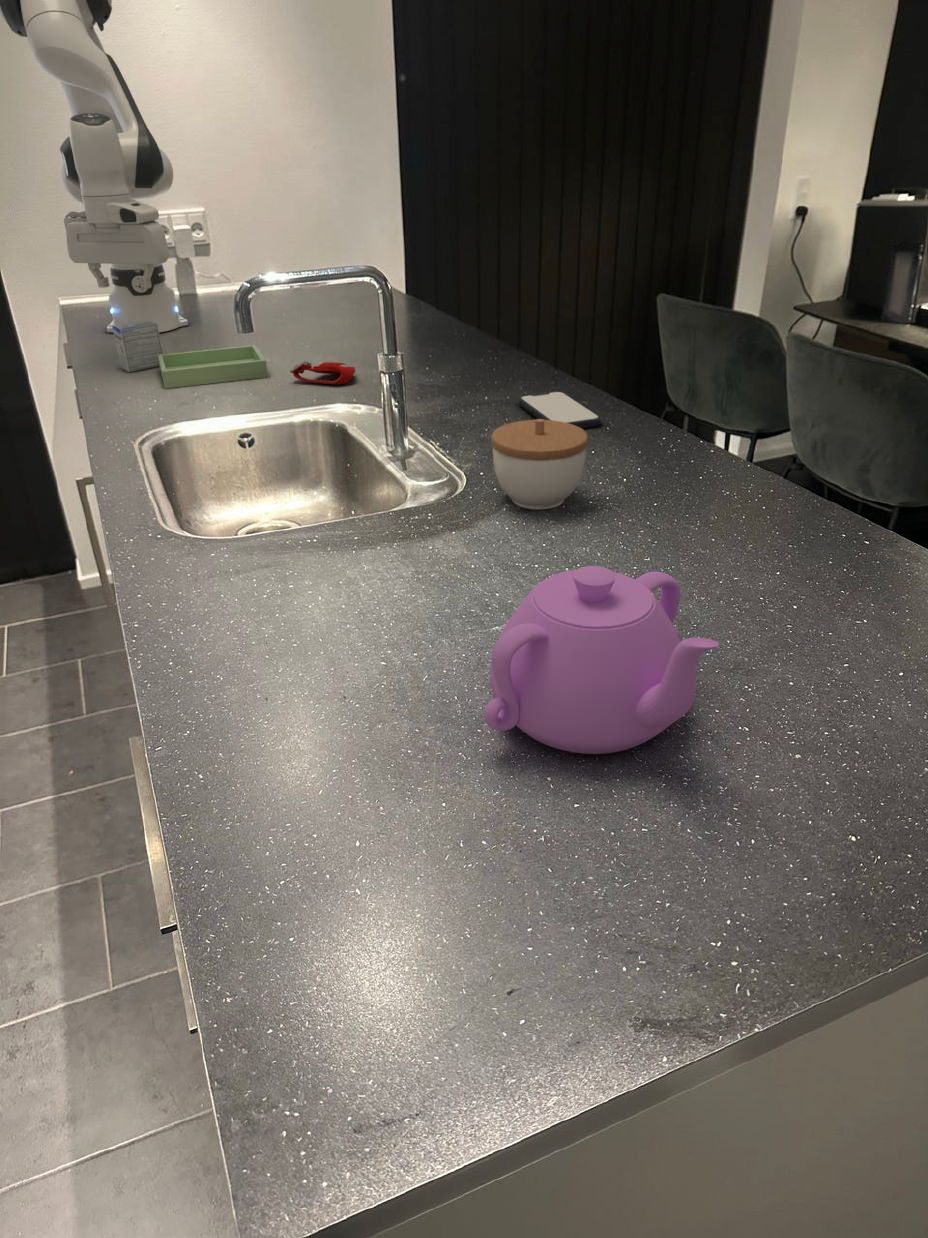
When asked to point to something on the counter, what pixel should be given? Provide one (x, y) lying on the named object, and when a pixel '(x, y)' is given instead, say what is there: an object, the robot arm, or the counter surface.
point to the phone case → (559, 409)
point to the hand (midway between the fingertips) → (125, 287)
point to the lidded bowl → (539, 461)
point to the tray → (212, 366)
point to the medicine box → (138, 345)
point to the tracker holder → (325, 371)
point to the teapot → (594, 662)
